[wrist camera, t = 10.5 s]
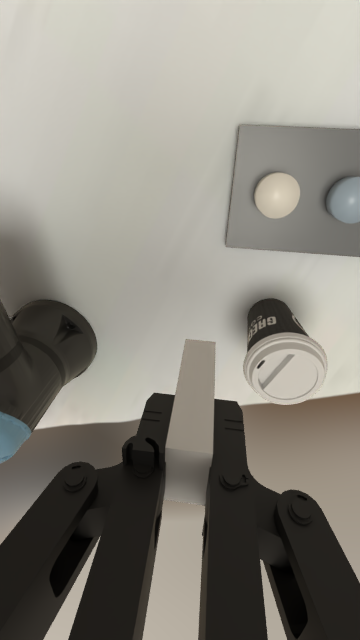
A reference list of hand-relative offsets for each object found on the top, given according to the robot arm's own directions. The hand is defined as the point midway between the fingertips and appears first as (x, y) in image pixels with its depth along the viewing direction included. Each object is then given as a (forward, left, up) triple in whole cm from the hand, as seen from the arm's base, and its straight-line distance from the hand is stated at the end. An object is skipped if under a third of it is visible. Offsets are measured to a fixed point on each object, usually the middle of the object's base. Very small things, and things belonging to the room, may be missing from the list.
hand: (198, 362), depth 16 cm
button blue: (+16, +6, -29) cm, 34 cm away
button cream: (+7, +6, -29) cm, 31 cm away
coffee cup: (+10, -12, -31) cm, 34 cm away
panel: (+16, +6, -30) cm, 35 cm away
